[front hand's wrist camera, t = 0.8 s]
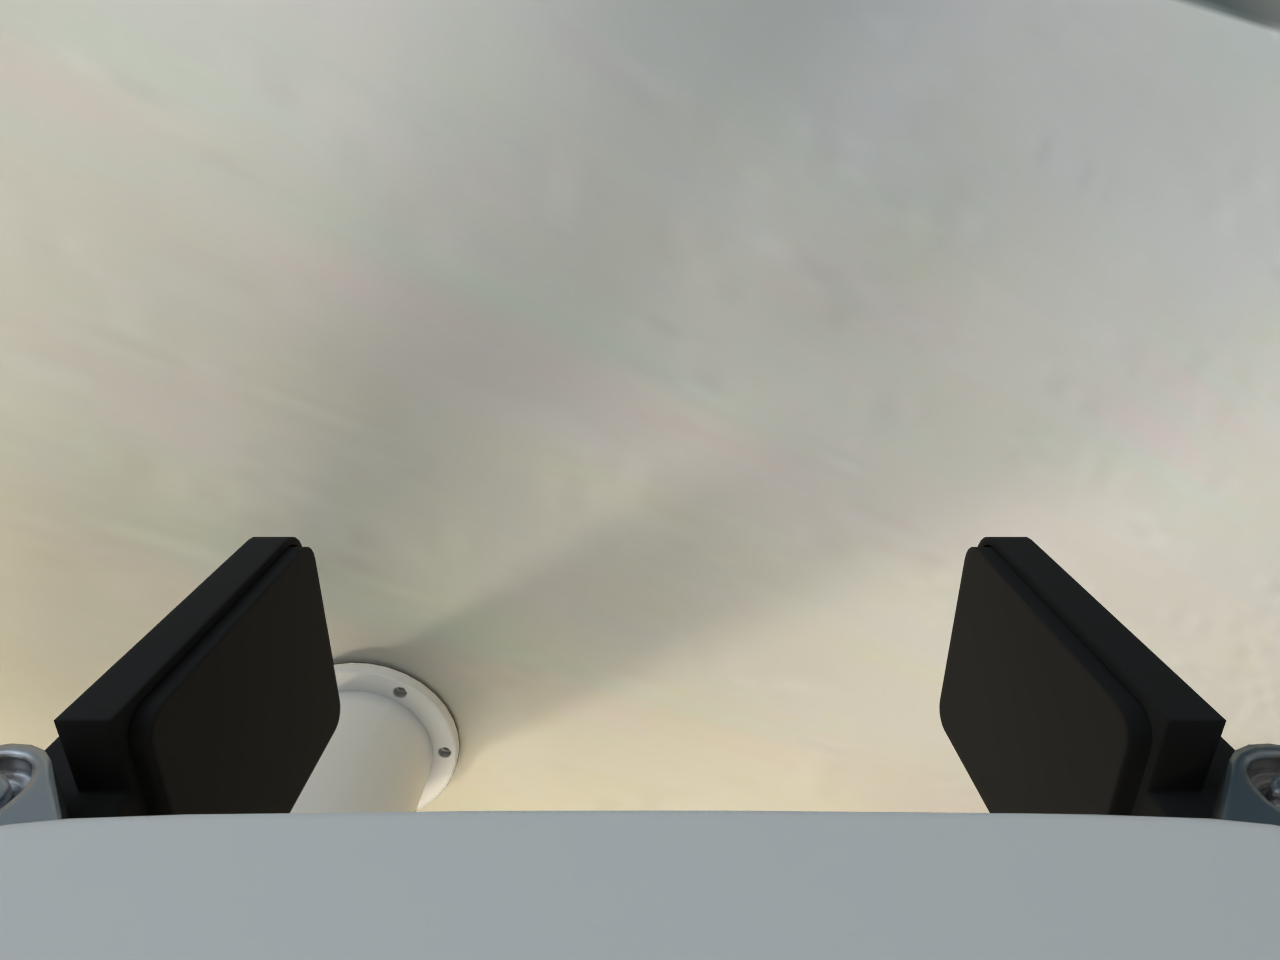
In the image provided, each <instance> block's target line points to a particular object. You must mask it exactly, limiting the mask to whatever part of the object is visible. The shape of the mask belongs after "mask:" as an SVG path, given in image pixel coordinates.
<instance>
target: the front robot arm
mask: <svg viewBox="0 0 1280 960" xmlns="http://www.w3.org/2000/svg"><path fill="white" fill-rule="evenodd" d="M940 717H941V722H942V726H943V728H944V730H945V732H946V734H947V736H948V737H949V739H950V741H951V743H952V745H953V747H954V748H955V750H956V752H957V754H958V756H959V757H960V759H961V761H962V763H963V765H964V767H965V768H966V770H967V772H968V774H969V776H970V777H971V779H972V781H973V783H974V785H975V787H976V788H977V790H978V792H979V794H980V796H981V797H982V799H983V801H984V803H985V805H986V807H987V808H988V810H989V812H990V813H915V812H804V811H450V812H416V810H418V809H420V808H422V807H425V806H426V805H427V804H429V803H430V802H432V801H433V800H434V799H436V798H437V797H438V796H439V795H440V794H441V792H442V791H443V790H444V789H445V788H446V787H447V785H448V783H449V781H450V779H451V778H452V776H453V773H454V770H455V767H456V764H457V760H458V753H459V739H458V732H457V729H456V726H455V723H454V720H453V718H452V716H451V715H450V713H449V711H448V710H447V708H446V706H445V705H444V704H443V703H442V702H441V700H440V699H439V698H438V697H437V696H436V695H435V694H434V693H433V692H432V691H431V690H429V689H428V688H427V687H426V686H424V685H423V684H422V683H421V682H419V681H417V680H415V679H413V678H412V677H410V676H408V675H406V674H404V673H402V672H399V671H396V670H393V669H391V668H388V667H383V666H379V665H374V664H366V663H345V664H336V665H334V664H333V658H332V652H331V647H330V641H329V635H328V630H327V624H326V618H325V612H324V607H323V601H322V595H321V590H320V584H319V578H318V572H317V567H316V561H315V557H314V553H313V551H312V549H310V548H309V547H302V545H301V543H300V541H299V540H298V539H297V538H295V537H253V538H251V539H249V540H248V541H247V542H246V543H245V544H244V545H242V546H241V547H240V548H239V549H238V550H237V551H236V552H235V553H234V554H233V555H232V556H231V557H230V558H228V559H227V560H226V561H225V562H224V563H223V564H222V565H221V566H220V567H219V568H218V569H217V570H216V571H214V572H213V573H212V574H211V575H210V576H209V577H208V578H207V579H206V580H205V581H204V582H203V583H202V584H200V585H199V586H198V587H197V588H196V589H195V590H194V591H193V592H192V593H191V594H190V595H189V596H188V597H186V598H185V599H184V600H183V601H182V602H181V603H180V604H179V605H178V606H177V607H176V608H175V609H174V610H172V611H171V612H170V613H169V614H168V615H167V616H166V617H165V618H164V619H163V620H162V621H161V622H160V623H158V624H157V625H156V626H155V627H154V628H153V629H152V630H151V631H150V632H149V633H148V634H147V635H146V636H144V637H143V638H142V639H141V640H140V641H139V642H138V643H137V644H136V645H135V646H134V647H133V648H132V649H130V650H129V651H128V652H127V653H126V654H125V655H124V656H123V657H122V658H121V659H120V660H119V661H117V662H116V663H115V664H114V665H113V666H112V667H111V668H110V669H109V670H108V671H107V672H106V673H105V674H103V675H102V676H101V677H100V678H99V679H98V680H97V681H96V682H95V683H94V684H93V685H92V686H91V687H89V688H88V689H87V690H86V691H85V692H84V693H83V694H82V695H81V696H80V697H79V698H78V699H77V700H75V701H74V702H73V703H72V704H71V705H70V706H69V707H68V708H67V709H66V710H65V711H64V712H63V713H61V714H60V715H59V716H58V717H57V718H56V719H55V720H54V723H55V726H56V728H57V731H58V734H59V737H58V738H57V739H56V740H55V741H54V742H53V743H52V744H51V745H50V746H49V747H48V748H47V749H46V750H42V749H40V748H38V747H35V746H33V745H26V744H5V745H0V960H1280V745H1275V744H1254V745H1247V746H1245V747H1242V748H1240V749H1238V750H1234V749H1233V748H1232V747H1231V746H1230V745H1229V744H1228V743H1227V742H1226V741H1225V740H1224V739H1223V738H1222V737H1221V734H1222V731H1223V728H1224V726H1225V723H1226V720H1225V719H1224V718H1223V717H1222V716H1221V715H1220V714H1219V713H1217V712H1216V711H1215V710H1214V709H1213V708H1212V707H1211V706H1210V705H1209V704H1208V703H1207V702H1206V701H1205V700H1203V699H1202V698H1201V697H1200V696H1199V695H1198V694H1197V693H1196V692H1195V691H1194V690H1193V689H1192V688H1191V687H1189V686H1188V685H1187V684H1186V683H1185V682H1184V681H1183V680H1182V679H1181V678H1180V677H1179V676H1178V675H1177V674H1175V673H1174V672H1173V671H1172V670H1171V669H1170V668H1169V667H1168V666H1167V665H1166V664H1165V663H1164V662H1163V661H1161V660H1160V659H1159V658H1158V657H1157V656H1156V655H1155V654H1154V653H1153V652H1152V651H1151V650H1150V649H1148V648H1147V647H1146V646H1145V645H1144V644H1143V643H1142V642H1141V641H1140V640H1139V639H1138V638H1137V637H1136V636H1134V635H1133V634H1132V633H1131V632H1130V631H1129V630H1128V629H1127V628H1126V627H1125V626H1124V625H1123V624H1122V623H1120V622H1119V621H1118V620H1117V619H1116V618H1115V617H1114V616H1113V615H1112V614H1111V613H1110V612H1109V611H1108V610H1106V609H1105V608H1104V607H1103V606H1102V605H1101V604H1100V603H1099V602H1098V601H1097V600H1096V599H1095V598H1094V597H1092V596H1091V595H1090V594H1089V593H1088V592H1087V591H1086V590H1085V589H1084V588H1083V587H1082V586H1081V585H1080V584H1078V583H1077V582H1076V581H1075V580H1074V579H1073V578H1072V577H1071V576H1070V575H1069V574H1068V573H1067V572H1066V571H1064V570H1063V569H1062V568H1061V567H1060V566H1059V565H1058V564H1057V563H1056V562H1055V561H1054V560H1053V559H1052V558H1050V557H1049V556H1048V555H1047V554H1046V553H1045V552H1044V551H1043V550H1042V549H1041V548H1040V547H1039V546H1038V545H1036V544H1035V543H1034V542H1033V541H1032V540H1031V539H1029V538H1027V537H985V538H983V539H982V540H981V541H980V543H979V545H978V547H971V548H970V549H968V551H967V553H966V557H965V561H964V567H963V572H962V578H961V584H960V590H959V595H958V601H957V607H956V612H955V618H954V624H953V630H952V635H951V641H950V647H949V652H948V658H947V664H946V669H945V675H944V681H943V687H942V692H941V698H940Z"/></svg>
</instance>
